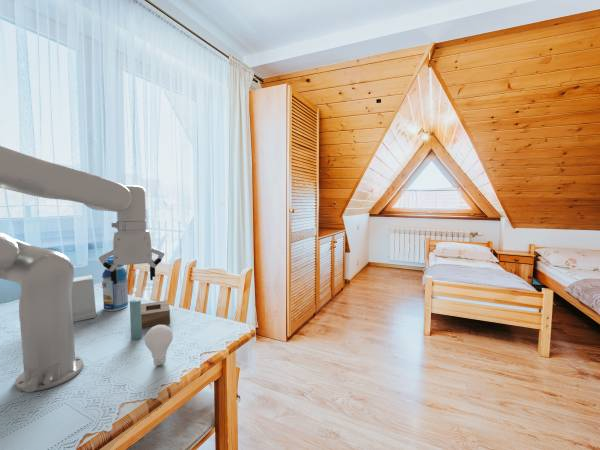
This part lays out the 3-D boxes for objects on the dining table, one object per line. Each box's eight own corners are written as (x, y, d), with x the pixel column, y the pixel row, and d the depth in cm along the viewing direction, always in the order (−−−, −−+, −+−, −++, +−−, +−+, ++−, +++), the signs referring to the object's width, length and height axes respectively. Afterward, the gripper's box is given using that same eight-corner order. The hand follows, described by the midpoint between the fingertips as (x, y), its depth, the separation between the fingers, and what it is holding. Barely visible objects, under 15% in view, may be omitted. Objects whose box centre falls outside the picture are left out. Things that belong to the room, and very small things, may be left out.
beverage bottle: (126, 310, 109) (124, 259, 107) (100, 313, 106) (97, 261, 104) (130, 302, 117) (128, 255, 115) (106, 304, 114) (104, 256, 112)
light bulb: (166, 355, 80) (165, 318, 79) (178, 364, 76) (177, 325, 75) (141, 365, 75) (139, 326, 74) (152, 376, 71) (151, 334, 70)
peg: (141, 338, 89) (140, 301, 87) (130, 340, 87) (129, 303, 86) (142, 334, 91) (140, 298, 90) (131, 336, 90) (130, 300, 89)
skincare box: (95, 312, 107) (93, 274, 105) (96, 318, 102) (94, 278, 101) (66, 318, 102) (64, 277, 100) (66, 324, 97) (63, 282, 95)
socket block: (170, 323, 99) (169, 310, 99) (137, 329, 95) (136, 315, 94) (168, 313, 108) (168, 300, 108) (138, 317, 103) (137, 304, 103)
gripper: (95, 228, 78) (98, 288, 80) (164, 226, 87) (165, 281, 88) (99, 225, 85) (101, 281, 87) (162, 224, 93) (164, 274, 95)
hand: (134, 281), depth 88 cm, fingers open, 9 cm apart
